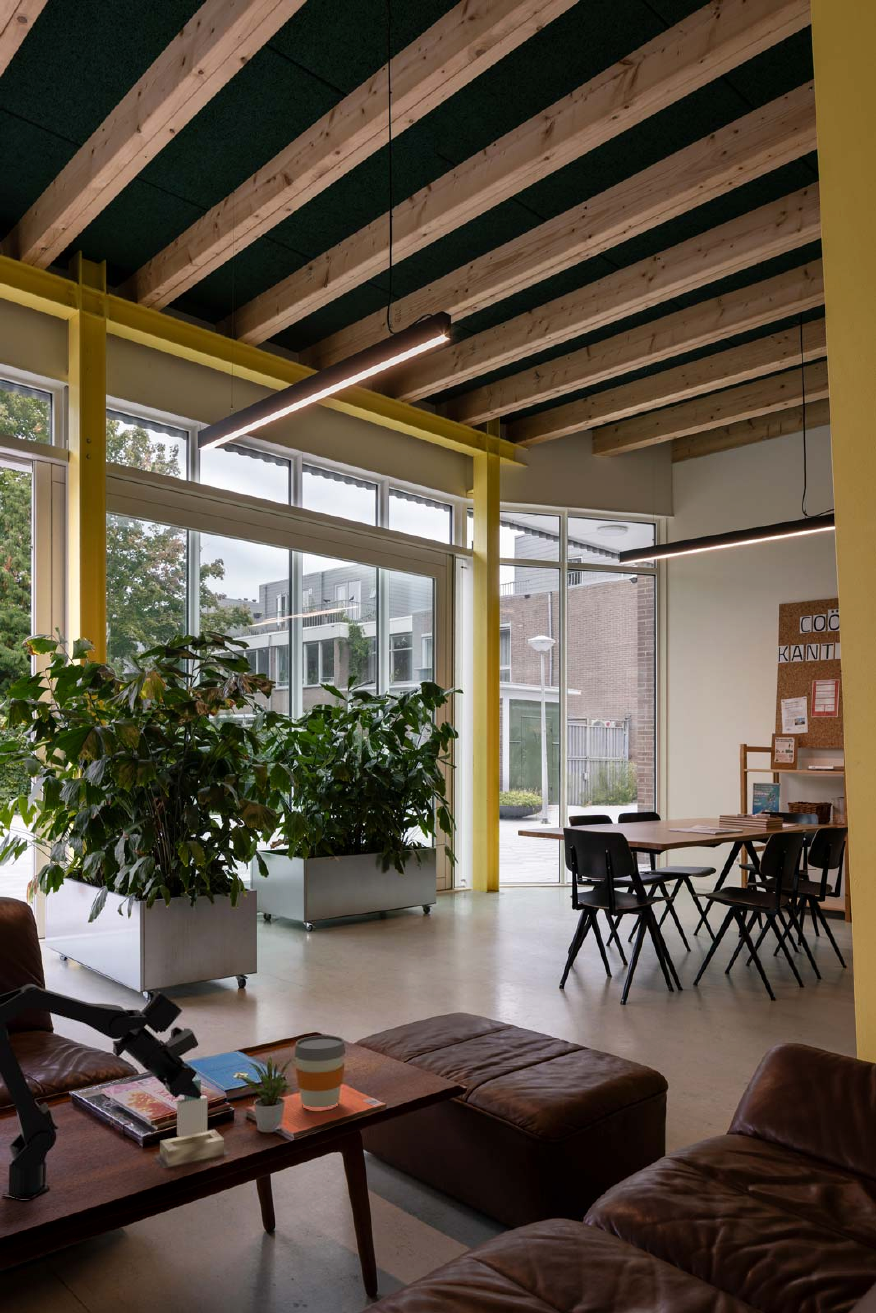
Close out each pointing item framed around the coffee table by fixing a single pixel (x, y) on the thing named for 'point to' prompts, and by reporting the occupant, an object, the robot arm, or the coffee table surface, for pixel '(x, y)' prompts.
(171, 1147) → the slot rack
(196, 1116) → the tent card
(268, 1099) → the house plant
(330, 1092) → the reusable coffee cup
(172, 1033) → the robot arm
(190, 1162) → the mat
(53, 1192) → the coffee table surface
